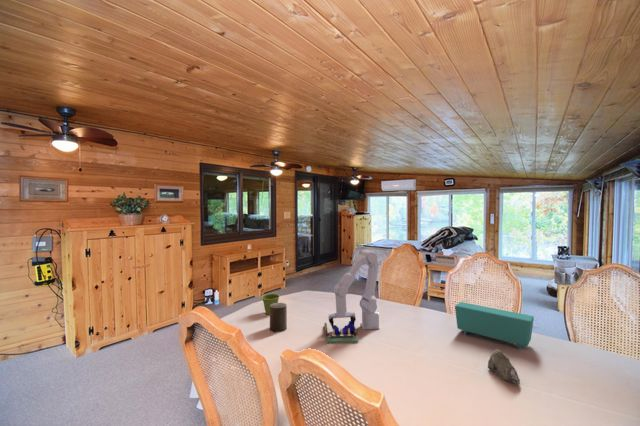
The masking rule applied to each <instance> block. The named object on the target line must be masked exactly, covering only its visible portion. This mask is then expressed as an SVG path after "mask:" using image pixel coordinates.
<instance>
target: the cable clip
mask: <svg viewBox="0 0 640 426" xmlns="http://www.w3.org/2000/svg"><path fill="white" fill-rule="evenodd" d="M354 326H355V322H354V323H353V322H351V320H350V321H349V320H348V324H347V325H344V327H342V328H341V329H342V334H343V335H347V334H348V328H350V334H353V335H354ZM333 329H335V335H341V331H340V329H339V327H338V326H337V325H336V324H335V325H334V326H333ZM333 329H332V330H333Z"/></svg>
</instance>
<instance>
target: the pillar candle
mask: <svg viewBox="0 0 640 426" xmlns="http://www.w3.org/2000/svg"><path fill="white" fill-rule="evenodd" d="M287 306H288V305H287V304H286V303H284V302H278V303H273V304H271V305H270V315H269V330H270V331H271V332H273V333H282V332H285V331H286V330H287V327H288V323H287V322H288V321H287V319H288V318H287V317H288V316H287V313H288V312H287V311H288V310H287Z"/></svg>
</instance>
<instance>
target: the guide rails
mask: <svg viewBox="0 0 640 426" xmlns="http://www.w3.org/2000/svg"><path fill="white" fill-rule="evenodd" d="M328 332H329V331H328V324H327V322H324V335H325V338H326V337H329V336H328V335H329V333H328ZM353 336H357V337H358V332H357V329H356V326H355V325H354V334H353Z"/></svg>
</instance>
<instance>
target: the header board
mask: <svg viewBox="0 0 640 426" xmlns="http://www.w3.org/2000/svg"><path fill="white" fill-rule="evenodd" d="M342 329H343V328H340V329H339V331H341V335H335V329H332V334H330V335H329V336H328V337H325V338H326V344H358V343H359V338H358V335H357V336H354V334H350V328H348V334H347V335H343V334H342Z"/></svg>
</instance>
